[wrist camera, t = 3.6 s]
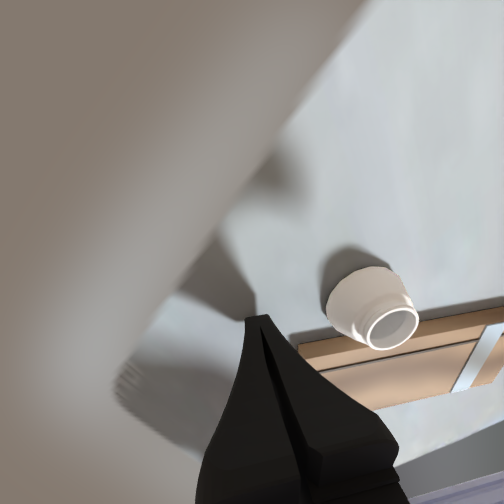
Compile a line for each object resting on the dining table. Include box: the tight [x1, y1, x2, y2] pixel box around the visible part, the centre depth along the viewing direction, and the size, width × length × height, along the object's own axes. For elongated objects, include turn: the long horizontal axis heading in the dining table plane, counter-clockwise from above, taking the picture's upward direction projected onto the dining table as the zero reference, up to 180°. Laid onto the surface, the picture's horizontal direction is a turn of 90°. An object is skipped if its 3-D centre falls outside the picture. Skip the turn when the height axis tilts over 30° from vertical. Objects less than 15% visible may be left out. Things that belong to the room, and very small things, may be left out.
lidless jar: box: [326, 266, 419, 350], centre depth 13 cm, size 5×3×5 cm
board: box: [298, 306, 504, 411], centre depth 17 cm, size 8×18×1 cm, turn 94°
